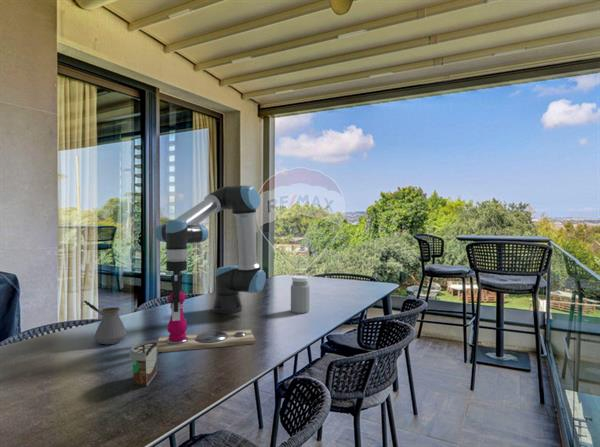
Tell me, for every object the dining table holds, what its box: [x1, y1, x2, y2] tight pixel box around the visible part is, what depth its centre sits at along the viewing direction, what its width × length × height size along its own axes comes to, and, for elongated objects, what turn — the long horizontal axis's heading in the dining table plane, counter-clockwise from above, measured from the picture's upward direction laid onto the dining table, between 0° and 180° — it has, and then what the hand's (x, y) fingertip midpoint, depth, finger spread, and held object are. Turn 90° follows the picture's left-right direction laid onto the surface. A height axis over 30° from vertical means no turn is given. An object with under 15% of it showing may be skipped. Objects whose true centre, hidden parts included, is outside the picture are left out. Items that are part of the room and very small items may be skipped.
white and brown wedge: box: [129, 339, 158, 387], centre depth 112 cm, size 12×6×10 cm, turn 5°
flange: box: [166, 337, 188, 344], centre depth 142 cm, size 8×8×1 cm
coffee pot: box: [81, 300, 128, 345], centre depth 147 cm, size 21×12×15 cm, turn 66°
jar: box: [290, 275, 311, 314], centre depth 192 cm, size 10×10×18 cm
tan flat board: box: [157, 328, 256, 354], centre depth 145 cm, size 14×36×2 cm, turn 106°
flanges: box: [196, 331, 246, 343], centre depth 147 cm, size 12×19×1 cm, turn 106°
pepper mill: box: [166, 290, 188, 342], centre depth 142 cm, size 7×7×20 cm
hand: (177, 315), depth 142 cm, fingers open, 13 cm apart
